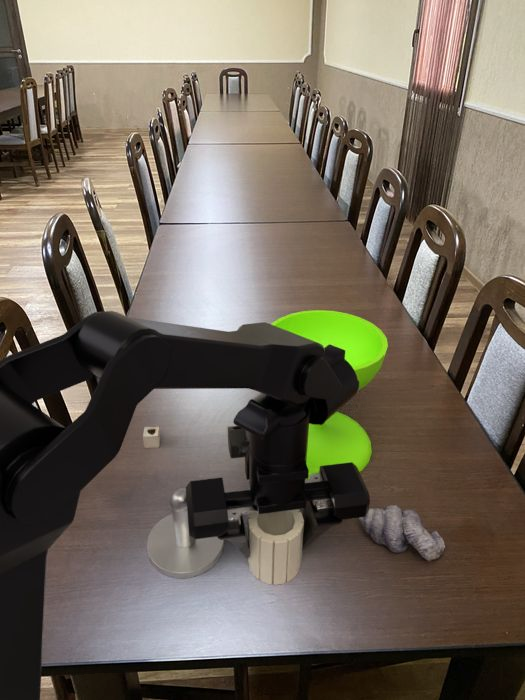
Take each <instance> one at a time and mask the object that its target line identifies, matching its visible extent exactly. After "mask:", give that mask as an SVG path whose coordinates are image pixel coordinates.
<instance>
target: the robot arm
mask: <svg viewBox="0 0 525 700" xmlns="http://www.w3.org/2000/svg"><path fill="white" fill-rule="evenodd" d="M271 324H272V323H269V322H254V323H245V324H242V325H240V326H239V327H238V328H237V330H231V331H227V330H219V329H213V328H205V327H199V326H193V325H185V324H179V323H178V324H177V323H171V322H164V321H157V320H150V319H144V318H143V319H142V318H136V317H128V316H127V315H124V314H122V313H120V312H117V311H114V310H108V311H107V310H105V311H96V312H92V313H91V314H89V315H87V316H85V317H84V318H82V319H81V320H80V321H79V322H77V323H76V324H75V325H73V326H72V327H71V328H69V329H68V330H67V331H66V332H65V333H63V334H62V335H59V336H56V337H54V338H51V339H48V340H45V341H43V342H40V343H37V344H35V345H33V346H29V347H28V348H25V349H22V350H20V351H17V352H14V353H12V354H9V355H7V356H5V357H3V358H1V360H0V700H41V687H42V669H43V668H42V667H43V666H42V665H43V647H44V646H43V645H44V627H45V605H46V587H47V586H46V583H47V566H48V565H47V563H48V552H49V549H50V548H51V547H52V546H53V545H54V544H55V542H56V541H58V539H59V538H60V537H61V536H62V535H63V534H64V533H65V531H66V530H67V529H69V527H70V526H71V525H72V524H73V522H74V521H75V516H76V513H77V509H78V505H79V501H80V495H81V491H83V490H84V488H85V487H86V486H87V485H88V484H90V482H92V480H93V479H95V478H96V476H98V475H99V474H100V473H101V472H102V471H103V470H104V469H105V468H106V467H107V466H108V465H109V464H110V463H111V462H112V461H113V460H114V459H115V458H116V457H117V455H118V454H119V453H120V451H121V448H122V446H123V443H124V441H125V437H126V435H127V432H128V430H129V427H130V424H131V422H132V419H133V417H134V415H135V411H136V408H137V406H138V405H139V404H140V403H141V402H142V401H143V400H144V399H145V398H146V397H147V396H148V395H149V394H150V393H152V392H153V391H154V390H192V389H193V390H198V389H200V390H202V389H204V390H205V389H208V390H209V389H210V390H211V389H212V390H213V389H215V390H219V389H221V390H223V389H224V390H225V389H233V390H234V389H249V390H252V391H255V392H258V393H259V394H257V395H256V396H254V397H253V398H251V399H249V400H248V402H247V404H246V405H245V406H244V407H243V408H242V409H240V410H239V411H238V412H237V414H236V415H235V416H234V418H233V421H232V422H233V425H232V426H227V446H228V453H229V457H230V458H231V459H240V458H241V459H242V458H244V474H245V478H246V480H247V481H249V489H247V490H245V489H244V490H236V491H235V490H234V491H228V492H227V491H225V486H224V479H223V477H213V478H206V479H197V480H190V481H189V482H188V483H187V485H186V486H185V489H186V497H187V512H188V525H189V536H191V537H192V538H194V539H202V538H210V537H217V538H218V539H220V540H224V541H228V542H230V544H232V545H234V546H235V547H236V548H237V549H238V550H239V551H240V552H241V555H243V556H244V558H245V559H248V558H249V557H250V550H249V544H248V533H247V530H246V525H245V520H244V515H249V514H251V513H259V514H265V513H273V512H280V511H288V510H296V509H299V510H303V511H302V516H303V519H304V530H303V544H302V551H306V550H307V549H308V548H309V547H311V545H312V544H313V543H314V542H316V540H318V538H319V537H321V536H322V535H323V534H325V533H326V532H327V531H329V530H330V529H331V528H333V527H335V526H338V525H341V524H342V523H343V521H344V520H350V519H358V518H360V517H365V516H366V515H367V513H368V512H369V509H370V505H371V497H370V492H369V489H368V488H367V485H366V484H365V481H364V479H363V477H362V474H361V473H360V472H361V471H360V472H359V470H358V468H357V466H355V465H354V464H353V463H352V462H350V463H341V464H332V465H324V466H320V470H319V473H314V474H312V475H310V478H309V479H307V478H308V473H309V470H308V467H307V464H306V462H307V447H308V433H309V424H313V425H322V424H323V423H325V422H326V421H327V420H328V419H329V418H330V417H331V416H332V415H334V414H335V413H336V412H339V410H341V409H342V408H343V407H344V406H345V405H346V404H347V403H348V402H349V401H350V400H352V399H353V398H354V397H355V396H356V395H357V393H358V391H359V390H358V388H359V381H358V379H357V375H356V373H355V371H354V369H353V367H352V366H351V365H350V364H349V363H348V362H347V361H346V360H345V350H343V349H341V348H338V347H335V346H333V345H330V344H329V345H328V346H326V347H325V348H324V347H323V345H321V344H319V343H317V342H315V341H312V340H310V339H307V338H304V337H302V336H299V335H297V334H294V333H292V332H289V331H287V330H284V329H281V328H279V327H276V326H274V325H271ZM94 376H96V377H98V378H99V380H98V382H97V384H96V387H95V388H94V391H93V393H92V395H91V397H90V400H89V402H88V404H87V406H86V409H85V410H84V411H83V412H82V413H81V414H80V415H79V416H78V417H77V418H76V419H74V420H73V421H72V422H71V423H70V424H69V425H68V426H67V427H65V426H64V425H62V424H61V423H59V422H58V421H57V420H55V419H54V418H52V417H51V416H49V415H48V414H46V413H45V412H44V411H42V410H41V409H39V408H38V407H37V406H35V405H34V403H36V402H37V401H39V400H41V399H44V398H47V397H49V396H52V395H55V394H56V393H58V392H61V391H64V390H67V389H69V388H72V387H75V386H76V385H79V384H82V383H85V382H87V381H89V380H90V379H92V378H93V377H94Z"/></svg>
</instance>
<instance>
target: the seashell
mask: <svg viewBox="0 0 525 700" xmlns="http://www.w3.org/2000/svg"><path fill="white" fill-rule="evenodd" d="M359 522H360V523H361V526H362V527H363V528H364V529H365V532H366V534H368V535H370V537H371V539H372V540H373V542H375V543H376V544H377V545H384V546H386V548H387V549H388V550H389V551H390V552H392V553H394V554H399V553H403V552H405V551H407V550H408V547H409V545H411V547H413V549H415V550H416V551H417V552H418V554H420V556H421V557H422V558H423V559H424V560H426V561H427V562H432V560H436V559H438V558H440V556H441V555H442V554H444V550H445V548H446V544H445V541H444V538H443V537H442V536H441V535H439V532H438V530H434V531H432V532H431V533H430V532H429V531H428V530H427V529H426V528H425V526H424V525H423V522H422V519H421V518H420V515H419V514H418V513H417V512H416V511H415V510H413V509H405V510H402V508H400V507H399V506H398V505H397V504H390V505H387V506H385V508H379V507H376V508H374V507H373V508H372V507H369V512H368V513H367V515H366V516H365V517H359Z"/></svg>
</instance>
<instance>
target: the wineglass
mask: <svg viewBox="0 0 525 700" xmlns="http://www.w3.org/2000/svg"><path fill="white" fill-rule="evenodd" d="M270 324H271V325H274V326H276V327H279V328H281V329H284V330H287V331H289V332H292V333H294V334H297V335H299V336H302V337H304V338H307V339H310V340H312V341H315V342H317V343H319V344H321V345H323V347H324V348H325V347H326V346H328V345H329V344H330V345H333V346H335V347H338V348H341V349H343V350H345V360H346V361H347V362H348V363H349V364H350V365H351V366H352V367H353V369H354V371H355V373H356V375H357V379H358V381H359V388H358V391H360V390H361V389H363V388H364V387H366V386H367V385H368V384H369V383H370V382H371V381H372V380H373V379H374V378H375V376H376V375H377V373H379V371H380V369H381V368H382V365H383V363H384V360H385V357H386V355H387V354H386V353H387V350H388V347H389V343H388V339H387V336H386V335H385V333H384V332H383V331H382V330H381V328H379V327H377V326H376V324H374V323H373V322H371V321H368V320H367V319H364V318H363V317H360V316H357V315H354V314H350V313H347V312H342V311H341V312H340V311H337V310H321V309H316V310H315V309H313V310H302V311H298V312H292V313H289V314H287V315H284V316H282V317H279V318H277V319H276V320H275V321H273V322H271V323H270ZM372 449H373V448H372V442H371V439H370V437H369V434H368V433H367V431H366V430H365V429H364V428H363V426H361V424H359V422H357V421H356V420H354V419H353V418H352V417H350V416H348V415H346V414H344V413H341V412H339V411H337V412H336V413H335V414H334V415H332V416H331V417H330V418H329V419H328V420H327V421H326V422H325V423H323V424H322V425H313V424H309V433H308V447H307V462H306V464H307V467H308V470H309V473H308V478H307V479H309V478H310V475H312V474H314V473H319V470H320V466H324V465H332V464H341V463H350V462H352V463H353V464H354V465H355V466H357V468H358V470H359V472H362V471H363V470H364V469H365V468H366V467H367V465H368V464H369V462H370V460H371V456H372V453H373V450H372Z"/></svg>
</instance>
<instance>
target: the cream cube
mask: <svg viewBox="0 0 525 700" xmlns="http://www.w3.org/2000/svg"><path fill="white" fill-rule="evenodd" d="M143 428H144V429H143V433H142V440H143V447H144V448H143V449H159V448H160V444H161V431H160V426H144V427H143Z"/></svg>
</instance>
